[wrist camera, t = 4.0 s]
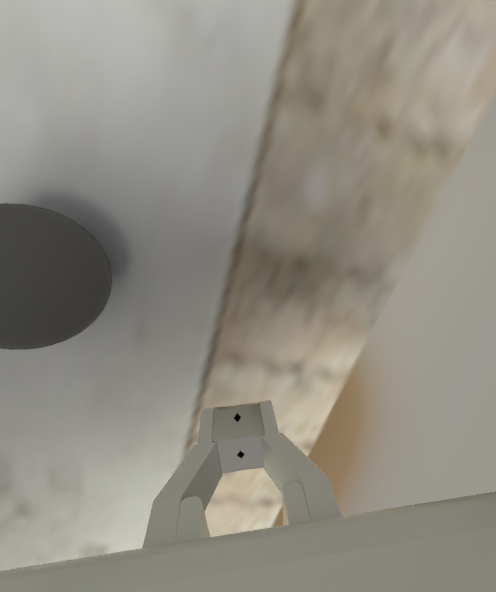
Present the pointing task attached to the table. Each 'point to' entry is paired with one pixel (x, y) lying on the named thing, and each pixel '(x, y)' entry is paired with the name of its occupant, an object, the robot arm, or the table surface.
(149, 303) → the table surface
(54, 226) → the black ball
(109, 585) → the robot arm
